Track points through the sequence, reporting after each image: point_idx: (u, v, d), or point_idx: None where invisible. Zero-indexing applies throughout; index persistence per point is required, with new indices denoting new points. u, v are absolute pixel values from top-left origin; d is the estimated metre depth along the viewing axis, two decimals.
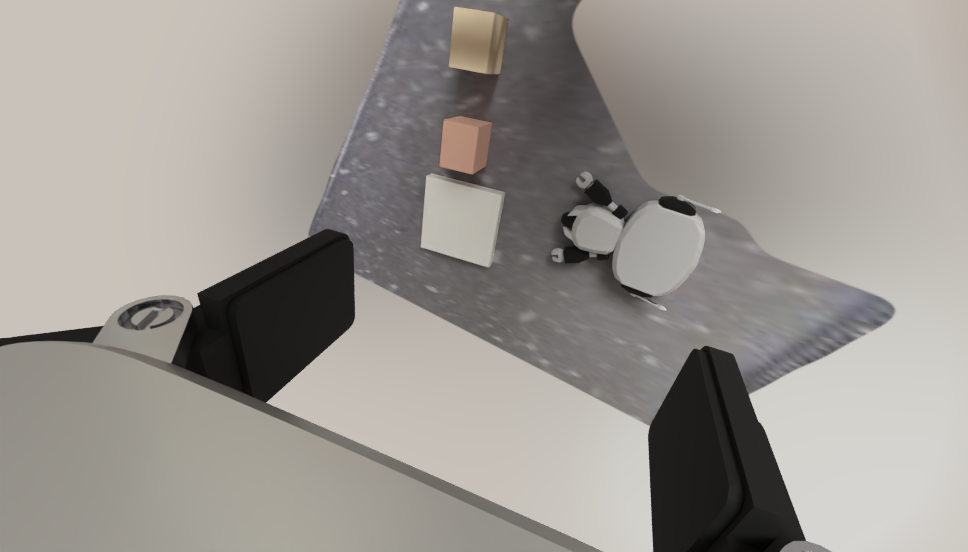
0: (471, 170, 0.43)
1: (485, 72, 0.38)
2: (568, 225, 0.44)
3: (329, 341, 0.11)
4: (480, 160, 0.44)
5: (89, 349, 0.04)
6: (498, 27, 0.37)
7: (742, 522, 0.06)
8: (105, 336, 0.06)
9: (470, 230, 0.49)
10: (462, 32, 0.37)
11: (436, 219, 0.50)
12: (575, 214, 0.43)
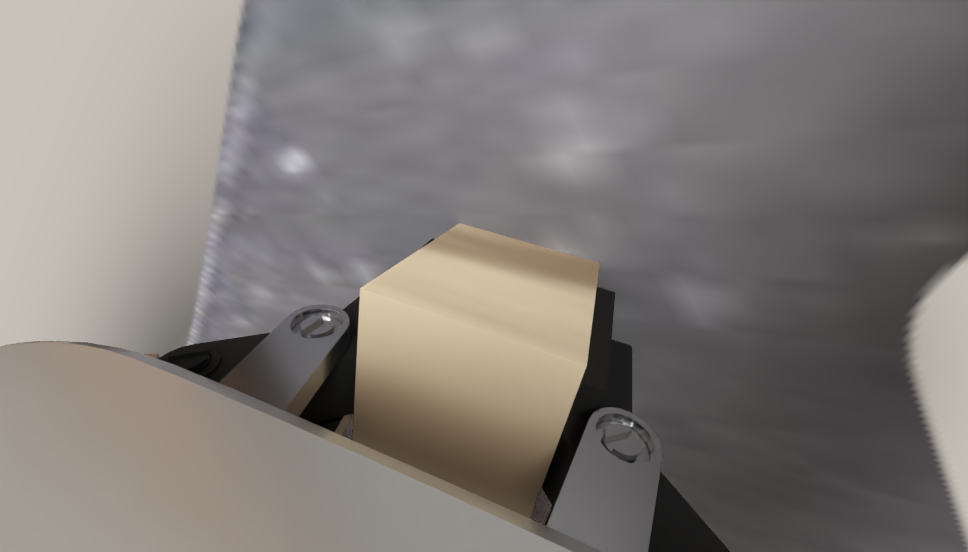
0: None
1: None
2: None
3: None
4: None
5: (89, 349, 0.04)
6: None
7: (575, 399, 0.07)
8: (275, 334, 0.07)
9: None
10: (404, 392, 0.07)
11: None
12: None
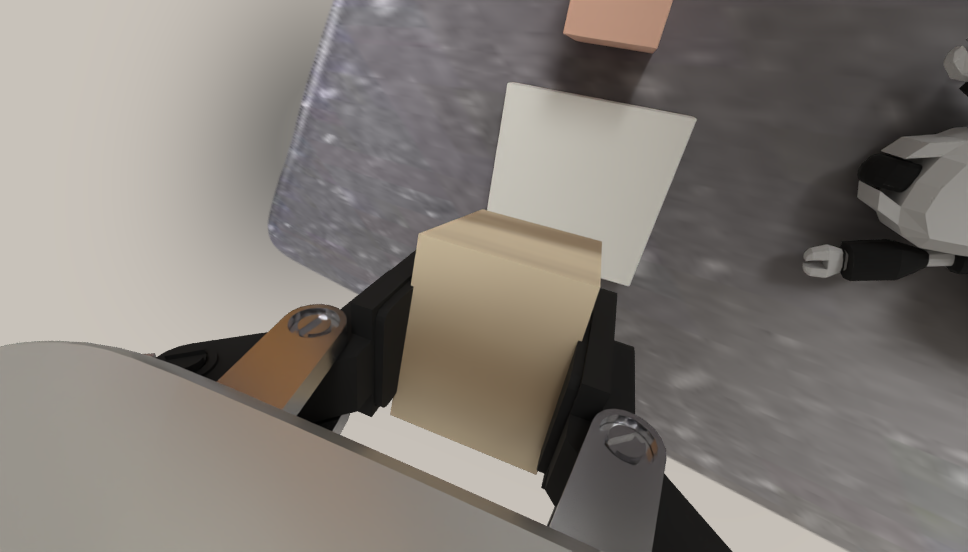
0: (656, 36, 0.16)
1: (533, 469, 0.09)
2: (898, 184, 0.17)
3: None
4: None
5: (90, 349, 0.04)
6: None
7: (578, 400, 0.07)
8: (273, 334, 0.07)
9: (597, 208, 0.23)
10: (448, 324, 0.09)
11: (522, 185, 0.24)
12: (935, 153, 0.16)
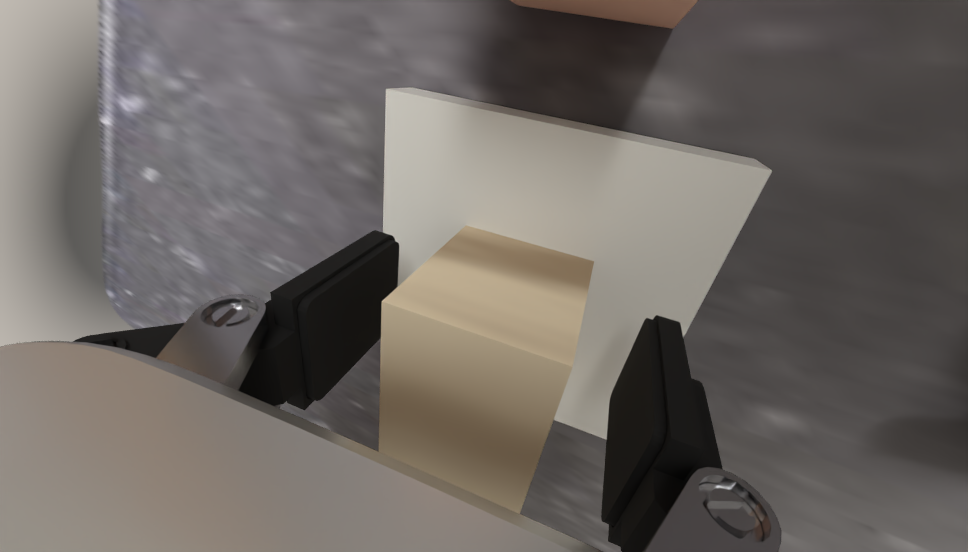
0: None
1: (516, 509, 0.10)
2: None
3: (375, 339, 0.11)
4: None
5: (89, 349, 0.04)
6: None
7: (664, 454, 0.06)
8: (187, 329, 0.07)
9: None
10: (422, 385, 0.09)
11: None
12: None
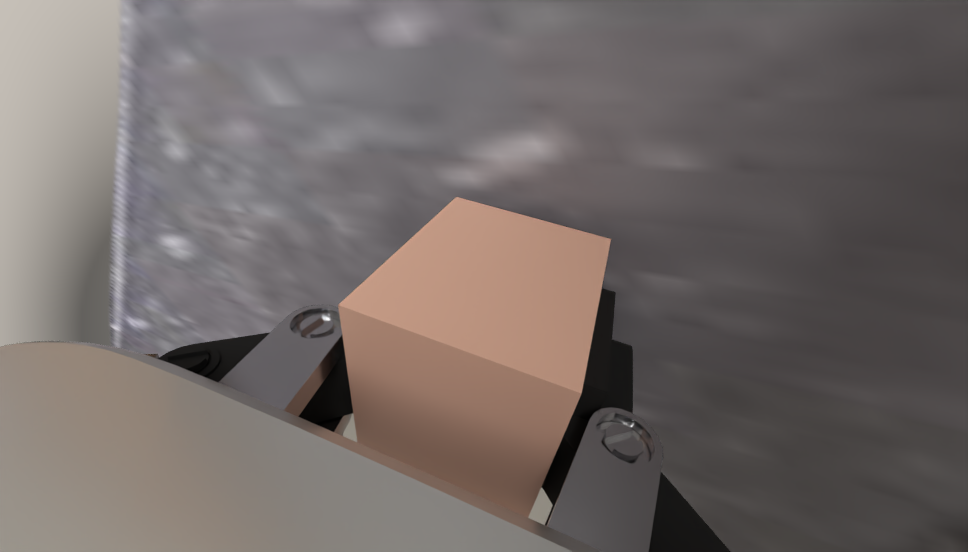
0: None
1: None
2: None
3: None
4: None
5: (89, 349, 0.04)
6: None
7: None
8: (275, 334, 0.07)
9: None
10: None
11: None
12: None
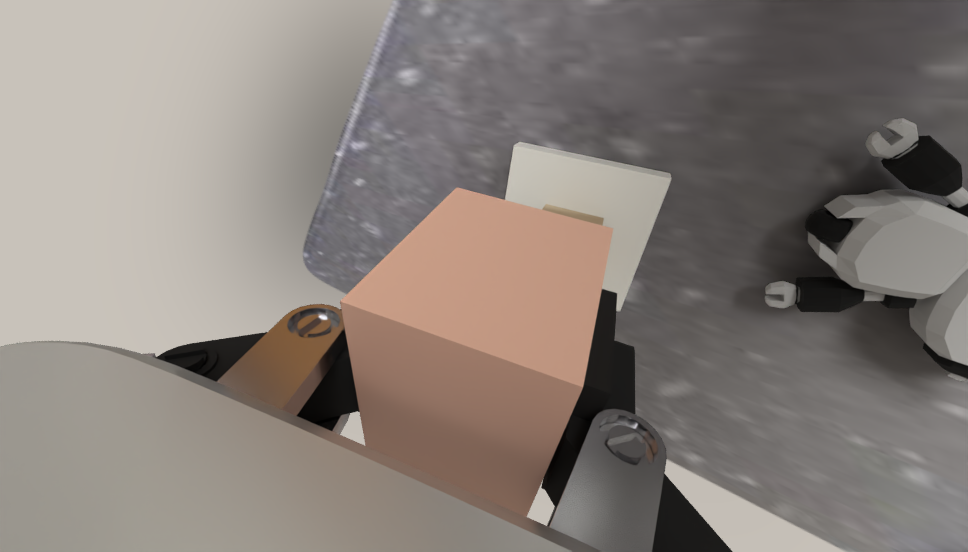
0: None
1: None
2: (834, 237, 0.21)
3: None
4: None
5: (89, 349, 0.04)
6: None
7: (579, 400, 0.07)
8: (273, 334, 0.07)
9: None
10: None
11: None
12: (860, 215, 0.20)
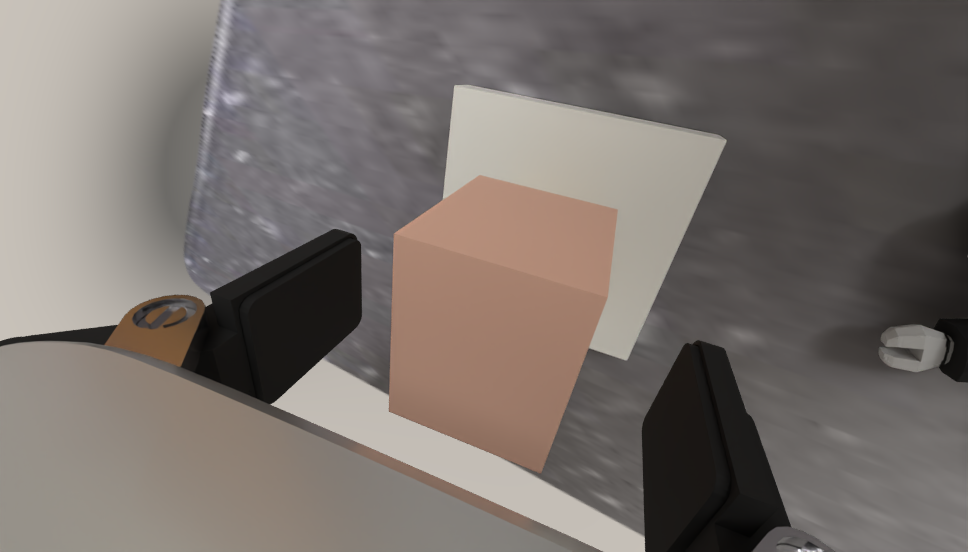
0: (538, 457, 0.09)
1: None
2: None
3: (337, 340, 0.11)
4: None
5: (89, 349, 0.04)
6: None
7: (729, 509, 0.06)
8: (119, 334, 0.06)
9: None
10: None
11: None
12: None
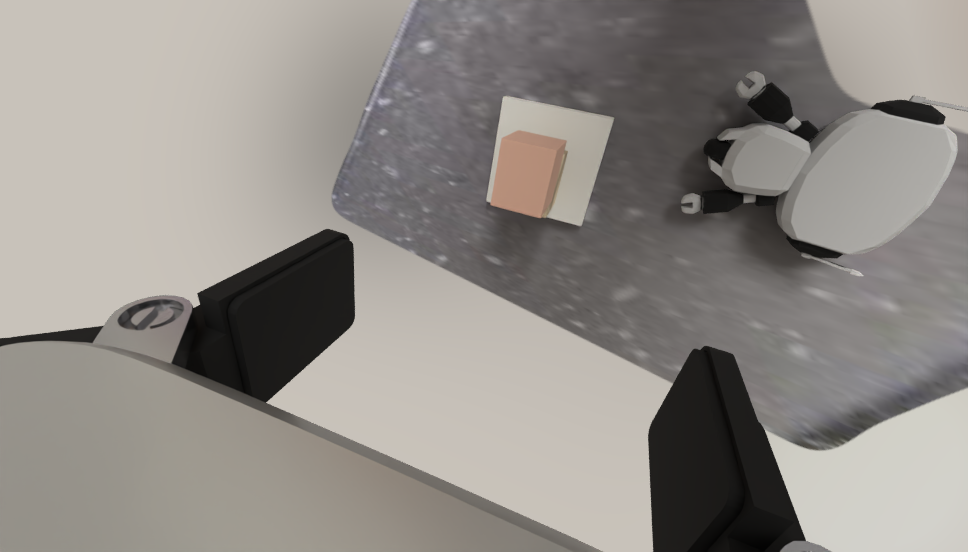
0: (539, 212, 0.29)
1: (544, 216, 0.34)
2: (719, 155, 0.30)
3: (329, 341, 0.11)
4: (549, 195, 0.30)
5: (89, 349, 0.04)
6: (560, 168, 0.33)
7: (742, 522, 0.06)
8: (105, 336, 0.06)
9: None
10: None
11: None
12: (733, 137, 0.29)
